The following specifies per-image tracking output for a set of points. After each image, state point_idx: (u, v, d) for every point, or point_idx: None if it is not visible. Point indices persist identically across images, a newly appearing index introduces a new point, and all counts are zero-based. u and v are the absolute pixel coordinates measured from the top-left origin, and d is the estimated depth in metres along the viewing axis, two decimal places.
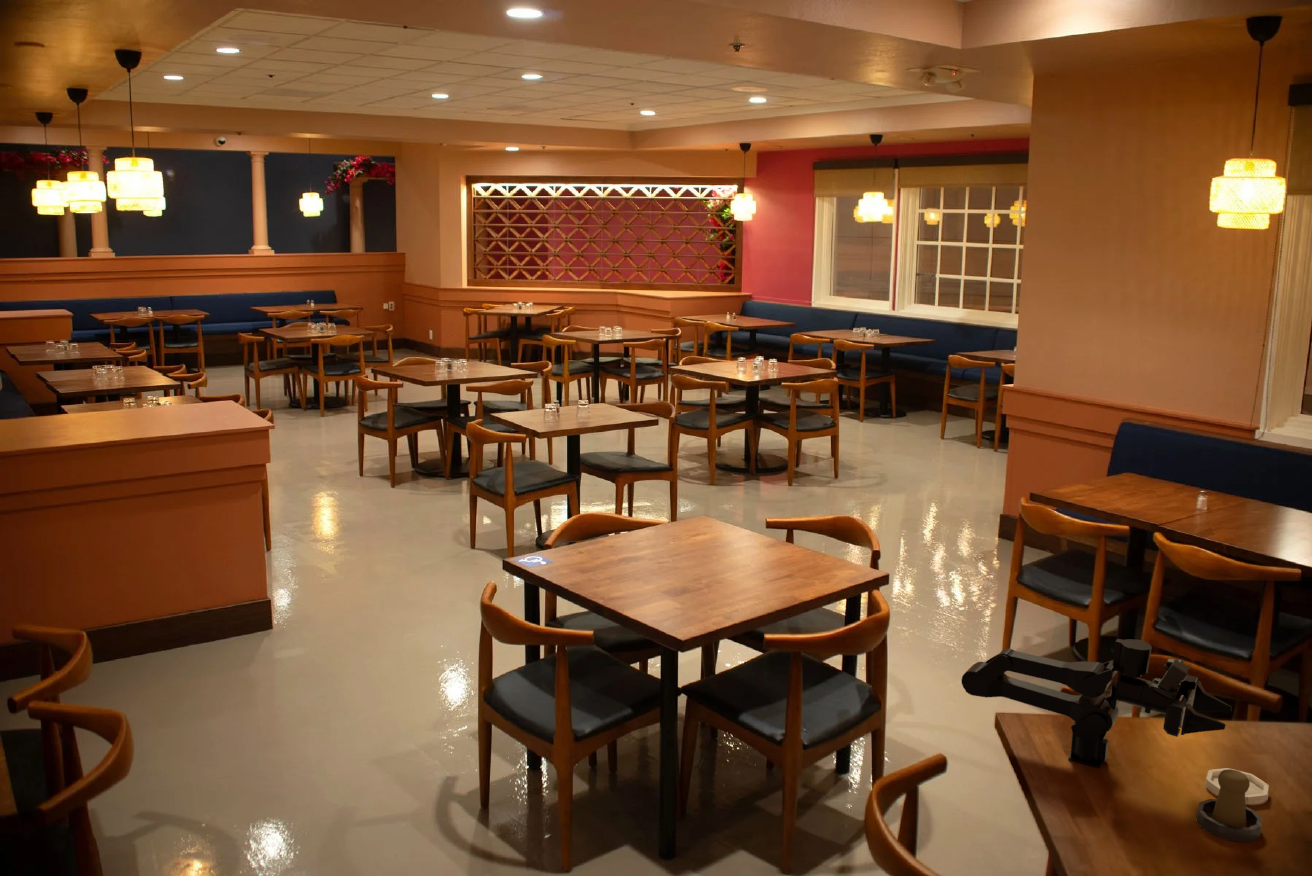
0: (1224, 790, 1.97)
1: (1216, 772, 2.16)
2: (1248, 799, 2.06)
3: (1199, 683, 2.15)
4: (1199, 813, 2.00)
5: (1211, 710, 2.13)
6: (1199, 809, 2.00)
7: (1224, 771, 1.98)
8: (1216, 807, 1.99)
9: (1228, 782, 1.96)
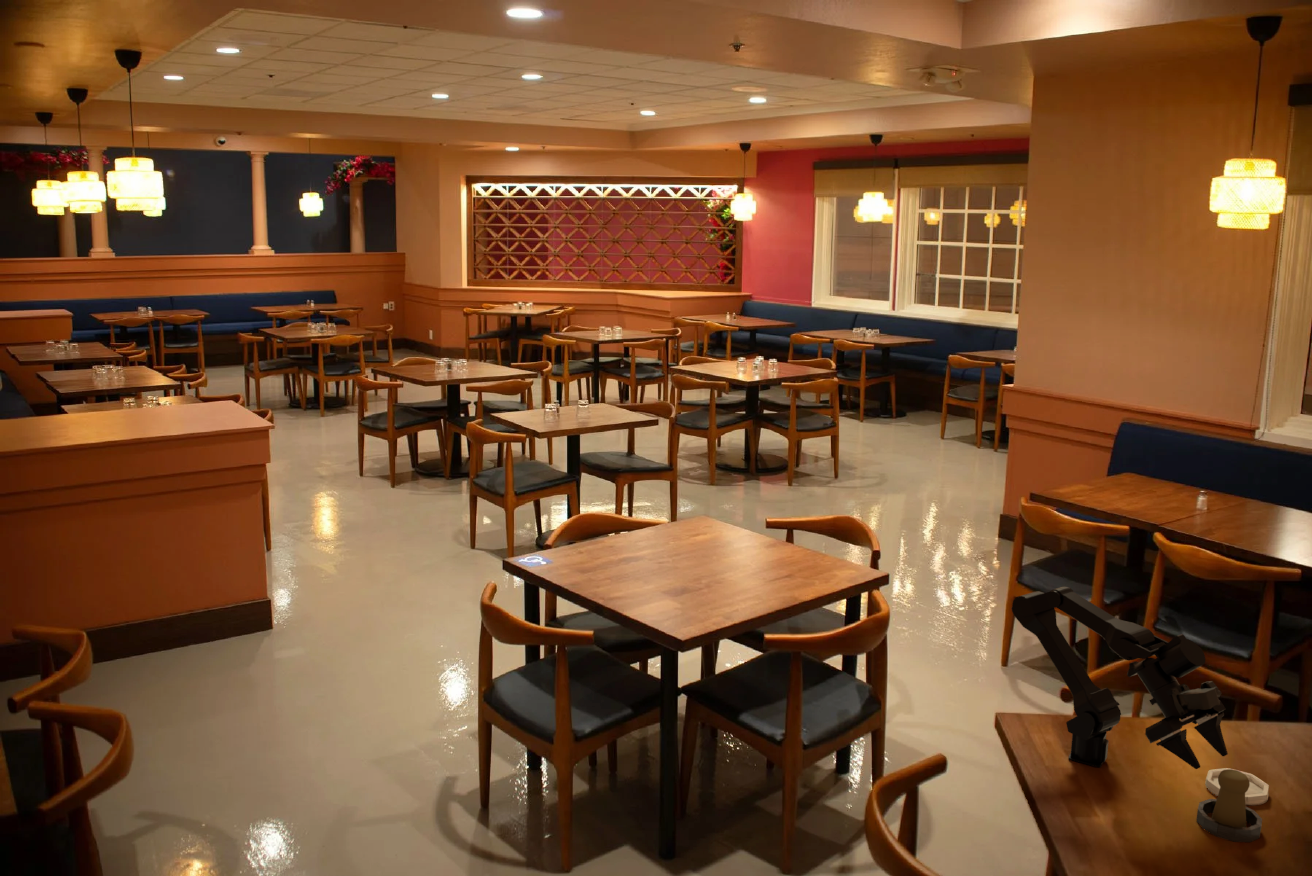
0: (1224, 790, 1.97)
1: (1216, 772, 2.16)
2: (1248, 799, 2.06)
3: (1221, 715, 2.05)
4: (1199, 813, 2.00)
5: (1208, 741, 2.06)
6: (1199, 809, 2.00)
7: (1224, 771, 1.98)
8: (1216, 807, 1.99)
9: (1228, 782, 1.96)
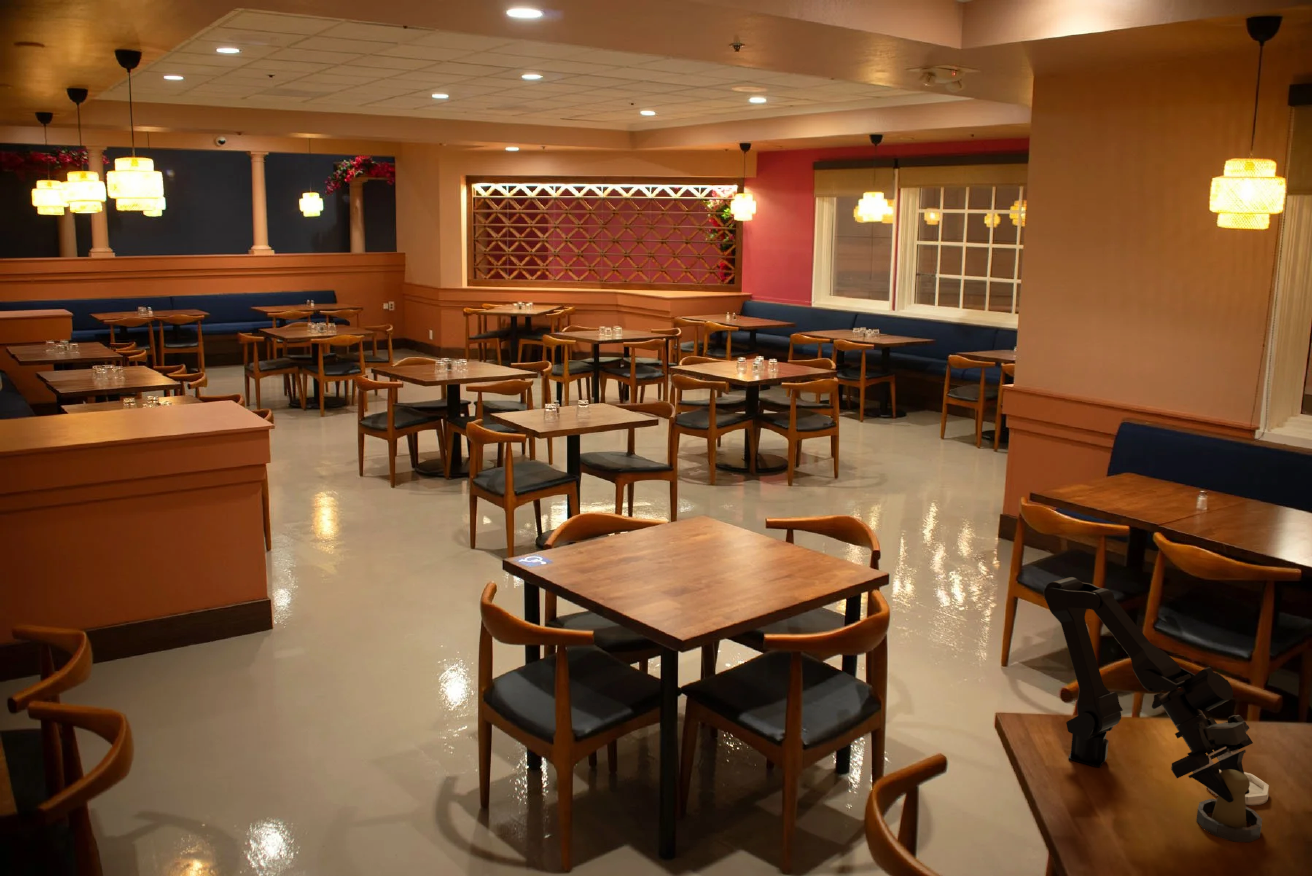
0: None
1: None
2: (1248, 799, 2.06)
3: (1242, 752, 2.00)
4: (1199, 813, 2.00)
5: None
6: (1199, 809, 2.00)
7: (1224, 771, 1.98)
8: (1216, 807, 1.99)
9: (1228, 782, 1.96)
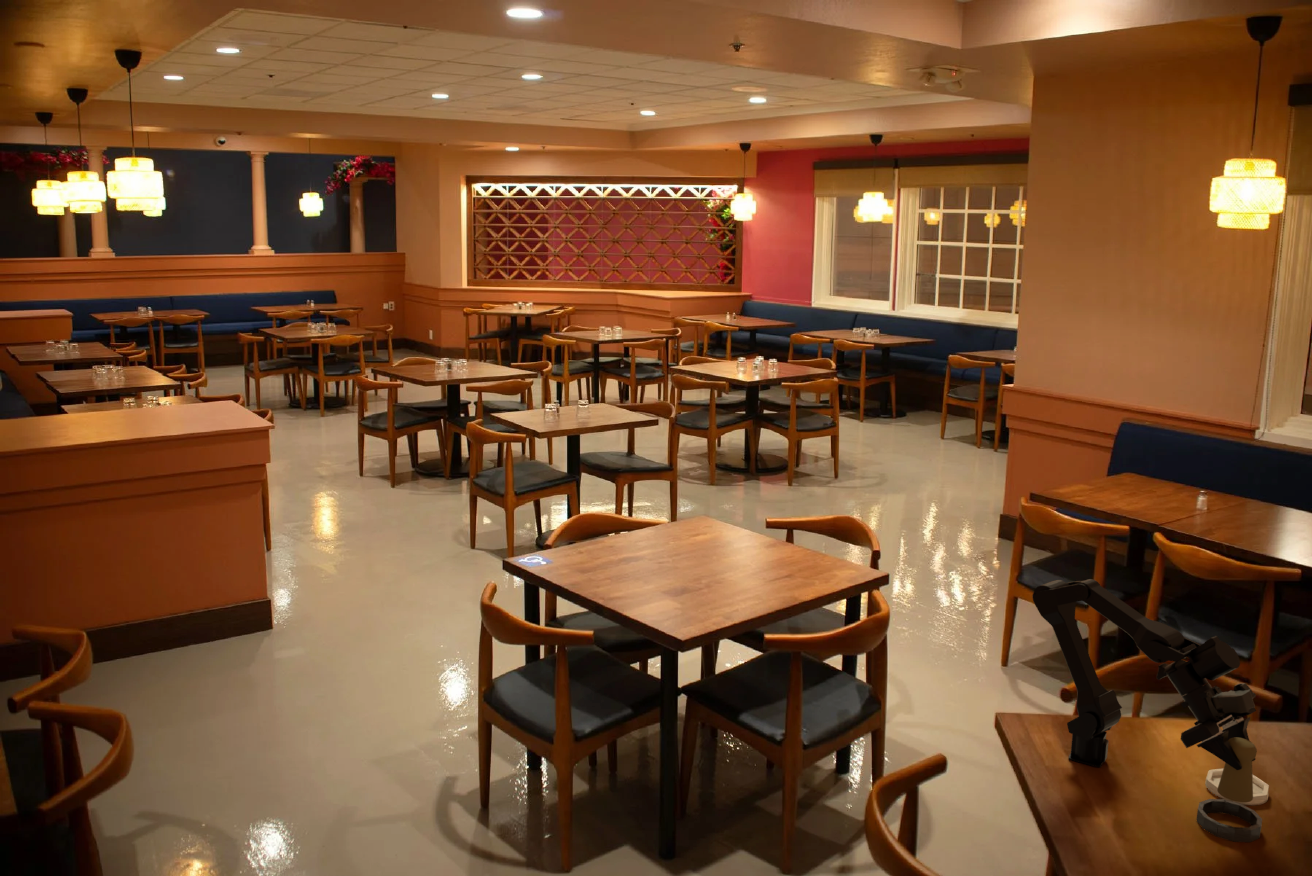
0: None
1: (1216, 772, 2.16)
2: None
3: (1247, 720, 2.01)
4: (1199, 813, 2.00)
5: None
6: (1199, 809, 2.00)
7: (1231, 740, 1.99)
8: (1223, 775, 1.99)
9: (1237, 750, 1.96)
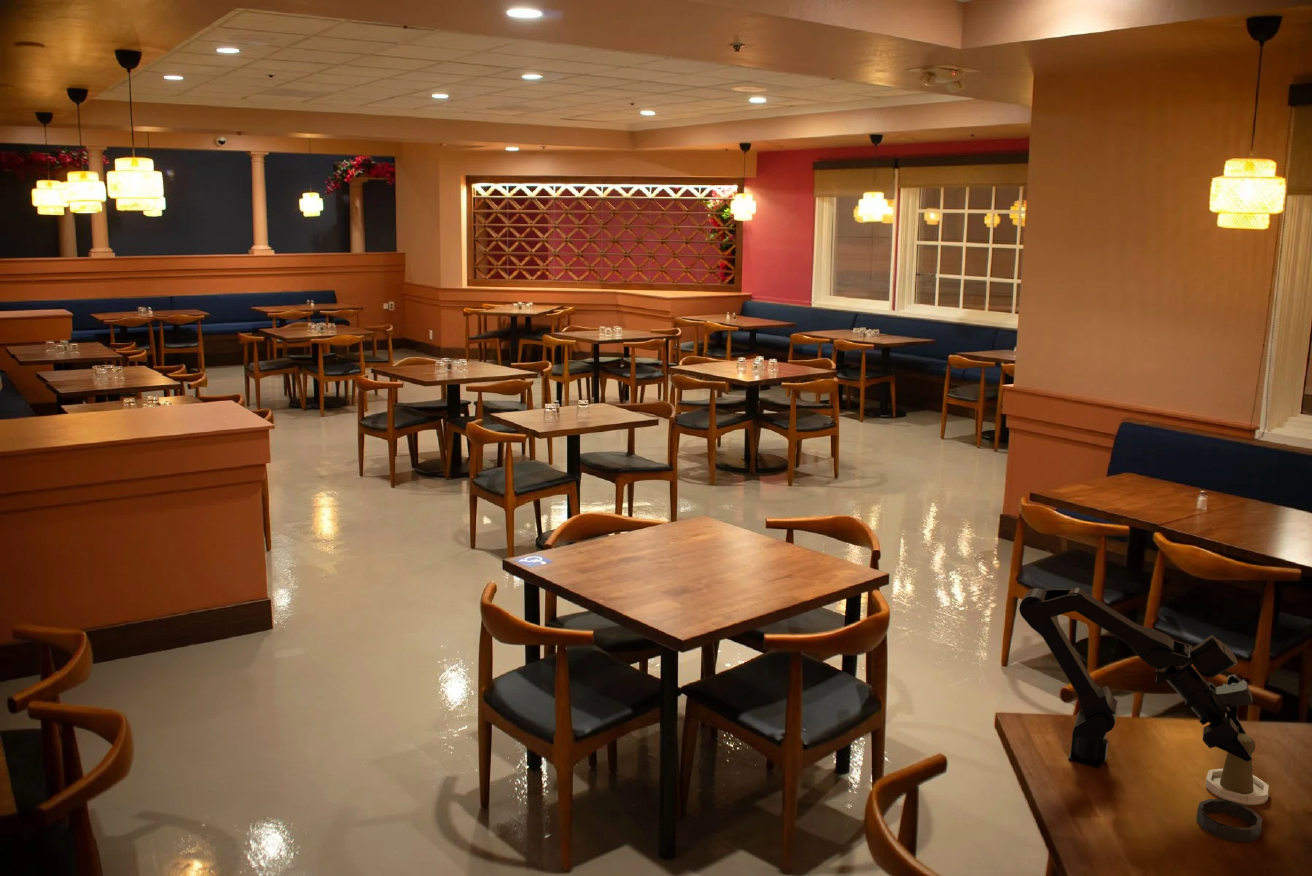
0: None
1: (1216, 772, 2.16)
2: (1248, 799, 2.06)
3: None
4: (1199, 813, 2.00)
5: None
6: (1199, 809, 2.00)
7: None
8: (1229, 771, 2.10)
9: None
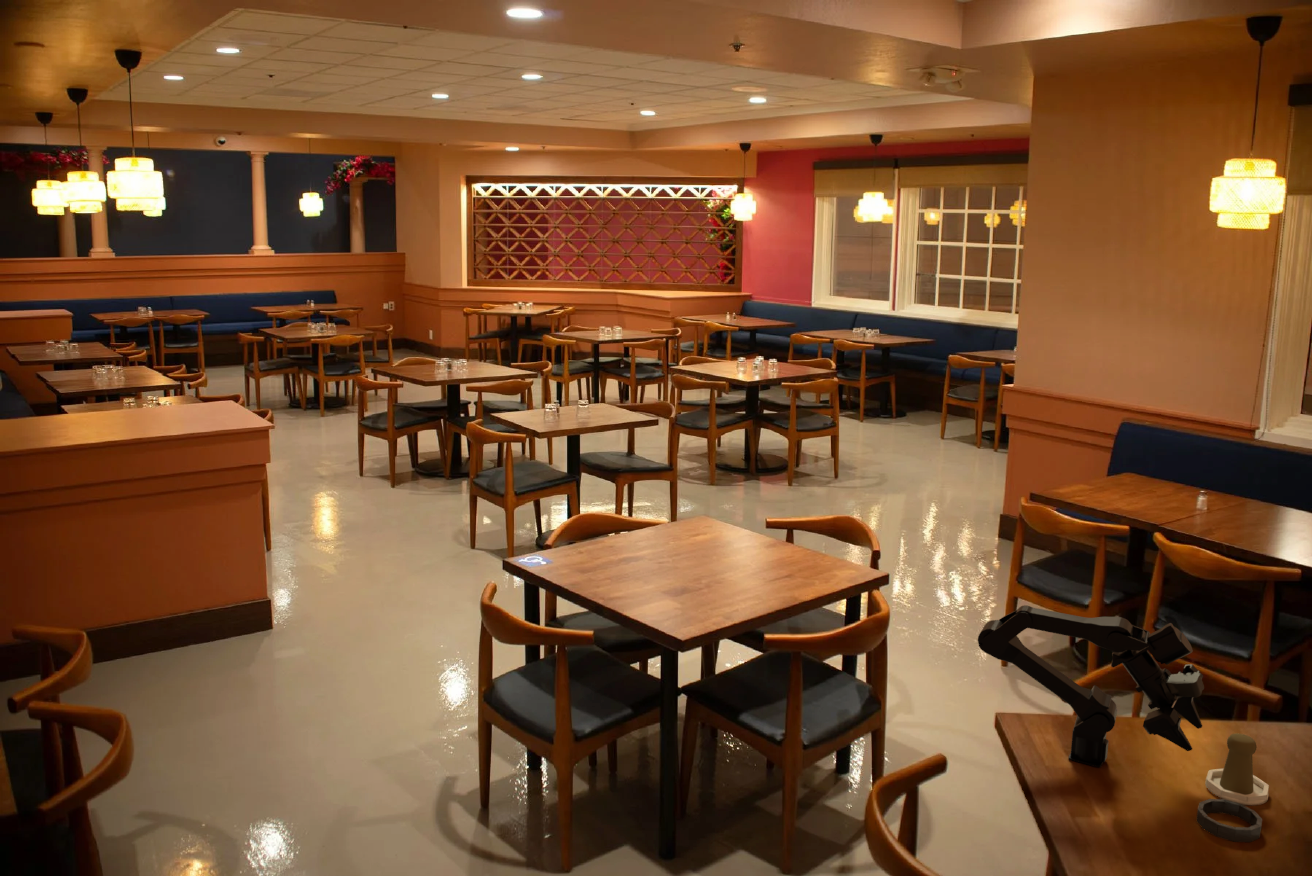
0: (1238, 755, 2.09)
1: (1216, 772, 2.16)
2: (1248, 799, 2.06)
3: None
4: (1199, 813, 2.00)
5: (1183, 715, 2.19)
6: (1199, 809, 2.00)
7: (1233, 737, 2.10)
8: (1229, 772, 2.10)
9: (1244, 746, 2.08)
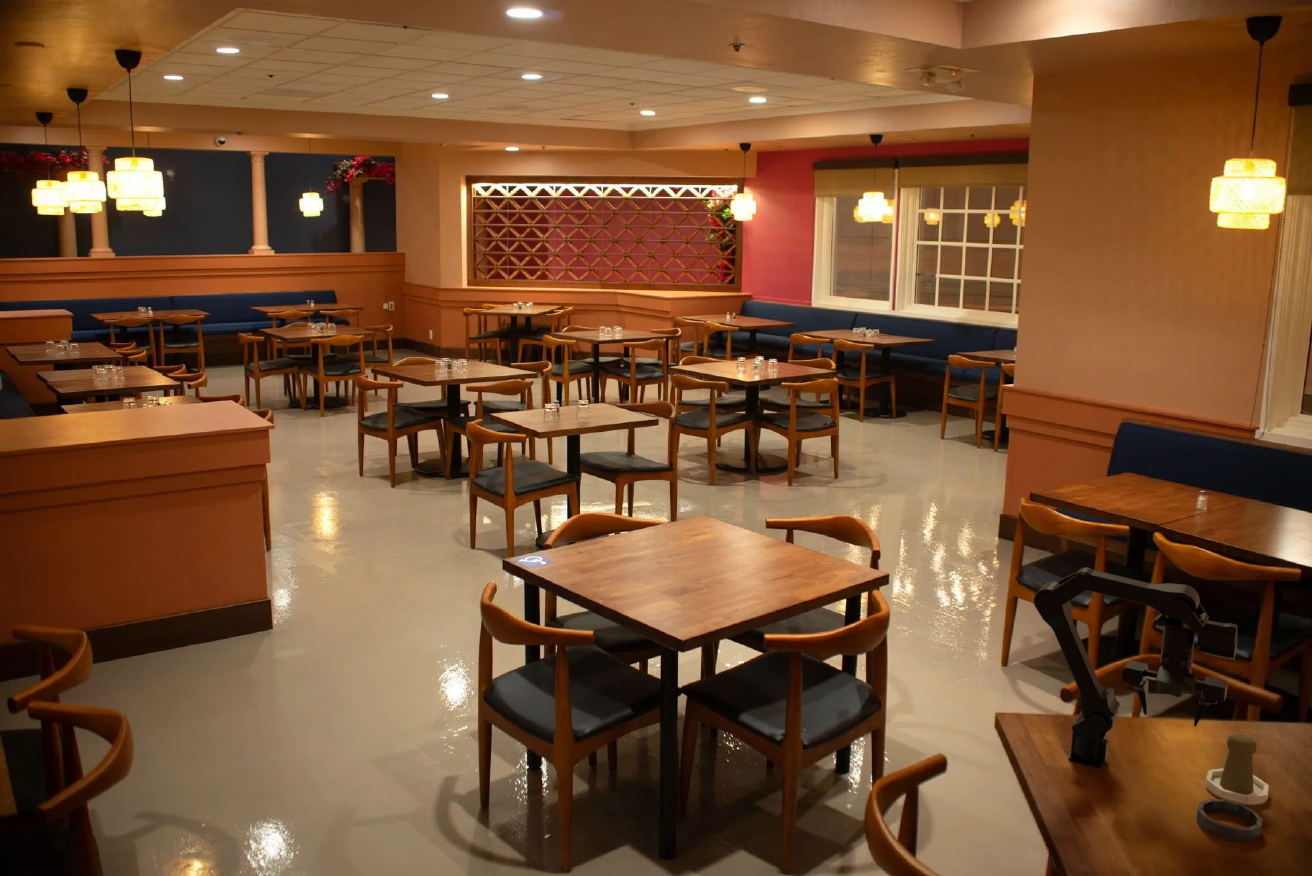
0: (1238, 755, 2.09)
1: (1216, 772, 2.16)
2: (1248, 799, 2.06)
3: (1207, 702, 2.07)
4: (1199, 813, 2.00)
5: None
6: (1199, 809, 2.00)
7: (1234, 737, 2.10)
8: (1229, 772, 2.10)
9: (1244, 746, 2.08)
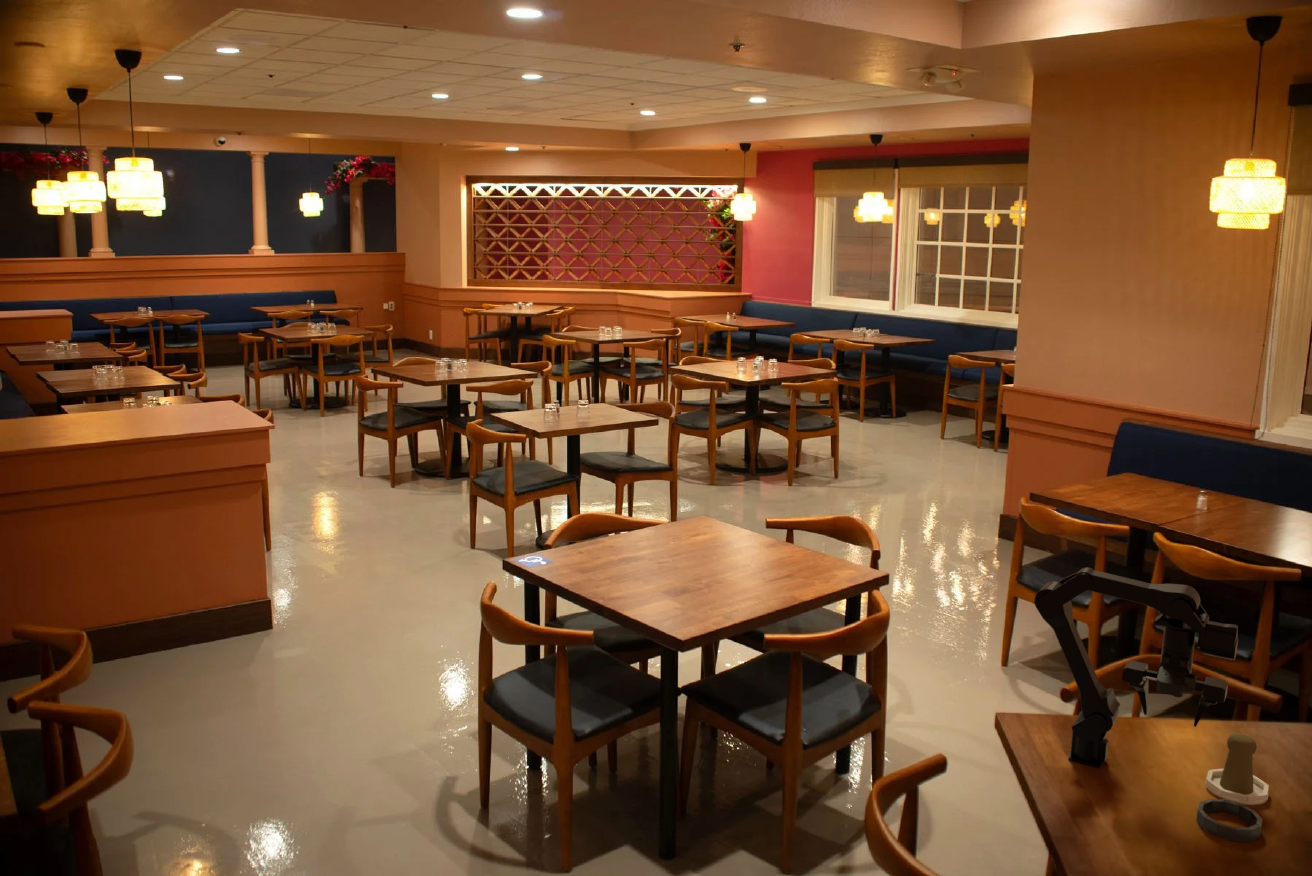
0: (1238, 755, 2.09)
1: (1216, 772, 2.16)
2: (1248, 799, 2.06)
3: (1207, 702, 2.07)
4: (1199, 813, 2.00)
5: None
6: (1199, 809, 2.00)
7: (1234, 737, 2.10)
8: (1229, 772, 2.10)
9: (1244, 746, 2.08)
